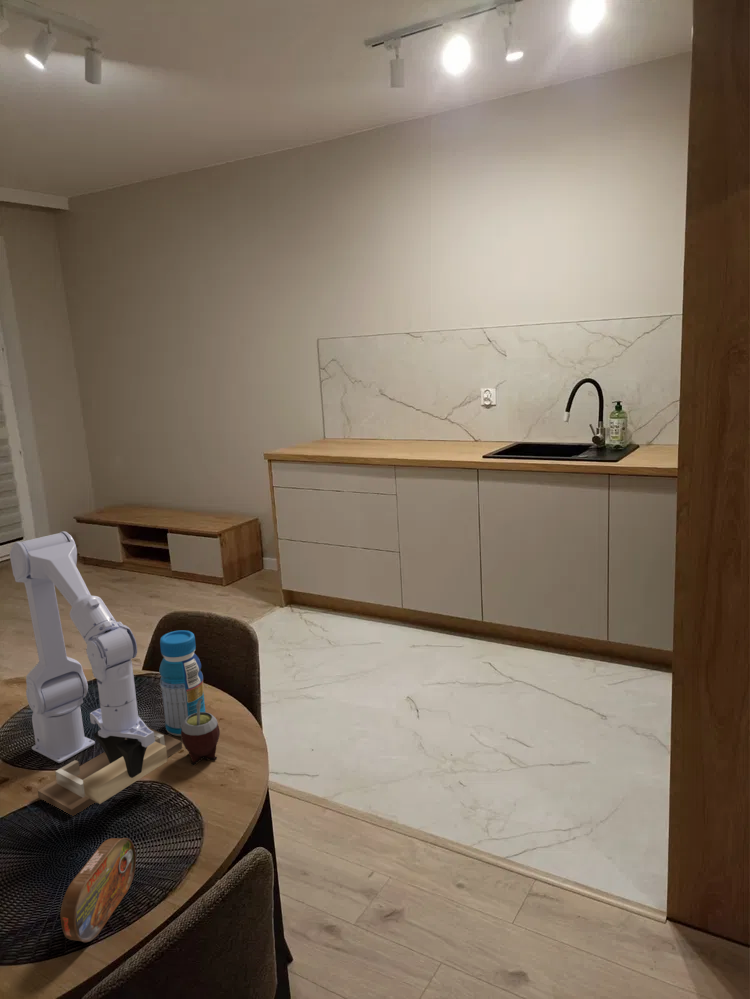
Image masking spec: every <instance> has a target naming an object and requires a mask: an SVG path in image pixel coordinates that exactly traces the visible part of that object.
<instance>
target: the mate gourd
mask: <svg viewBox="0 0 750 999" xmlns="http://www.w3.org/2000/svg"><path fill="white" fill-rule="evenodd" d="M201 701H202V699H200V700H198V702H197V705H196V708H197V713H194V714H192V715H190V716H188V717H187V718H186V719H185V721H184V723H183V725H182V729H181V736H180V738H181V741H182V745H183V746H184V748H185V750H187V752H188V755H189V756H190V758H191V762H190V765H191V766H196V765H197V764H198V763H199V762H201V761H202V760H203V759H204V760H205V759H206V760H209V761H213V762H215V761H217V760H218V756H216V752H217V745H218V742H219V738H220V736H221V735H220V733H221V732H220V726H219V722H218V720H217V718H216V717H215V716H214V715H213V714H212V713H210V712H206V711H205V712H200V708H201Z"/></svg>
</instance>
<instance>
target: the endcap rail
mask: <svg viewBox="0 0 750 999" xmlns="http://www.w3.org/2000/svg"><path fill="white" fill-rule="evenodd" d="M147 727H148V728H149V729H150V730H151V731H153V732H154V737H155V741H156V742H158V743H160V744H162V745H165V746H166V751H167V759H168V758H169V757H171V756H172V755H174V754H175V753H177V752H179V751H180V750H182V749H183V742H182V740H179V739H177V738H174V737H172V736H170V735H168V734H165V733H163V732H160V731H158V730H156V729H153V728H152V727H149V726H147ZM125 740H127V738H125ZM109 764H110V762H109V760H108V757H107V755H106V753H105V751H103V752H102V753H100V754H98V755H97V756H95V757H93V758H90V760H88V761H86V762H84V763H83V764H80V763H79V761H78V760H76V759H75V760H72V761H71V762H69V763H67V764H65V765H63V766H62V767H60V768H58V769H57V770H55V771H54V774H55V780H53V781H51V782H49V783H48V784H46V785H44V786H42V787H41V788H39V789H37V796H38V799H40V800H41V801H43V800H44V801H43V802H45V801H46V802H45V803H47V804H48V803H49V805H50V804H51V805H50V806H52V805H53V806H52V807H54V806H55V807H57V808H59V809H61V810H63V811H64V812H66V813H68V814H70V815H72V816H74V815H76V814H77V813H79V812H81V811H82V812H84V811H85V810H87V809H88V808H90V807H91V806H90V805H92V804H93V805H95V804H97V802H95V801H93V800H92V799H90V798H88V797H86V796H85V792H84V785H83V780H84V779H85V778H87V777H89V776H90V775H92V774H94V773H96V772H97V771H99V770H101V769H102V768H104V767H106V766H107V765H109ZM94 803H95V804H94ZM93 805H92V806H93ZM89 806H90V807H89ZM55 807H54V808H55ZM87 807H88V808H87ZM57 808H56V809H57ZM86 808H87V809H86ZM59 809H58V810H59ZM84 809H85V810H84ZM61 810H60V811H61ZM83 810H84V811H83ZM64 812H63V813H64ZM82 812H81V813H82ZM66 813H65V814H66ZM68 814H67V815H68ZM79 814H80V813H79ZM77 815H78V814H77ZM77 815H76V816H77ZM74 817H75V816H74Z"/></svg>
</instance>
